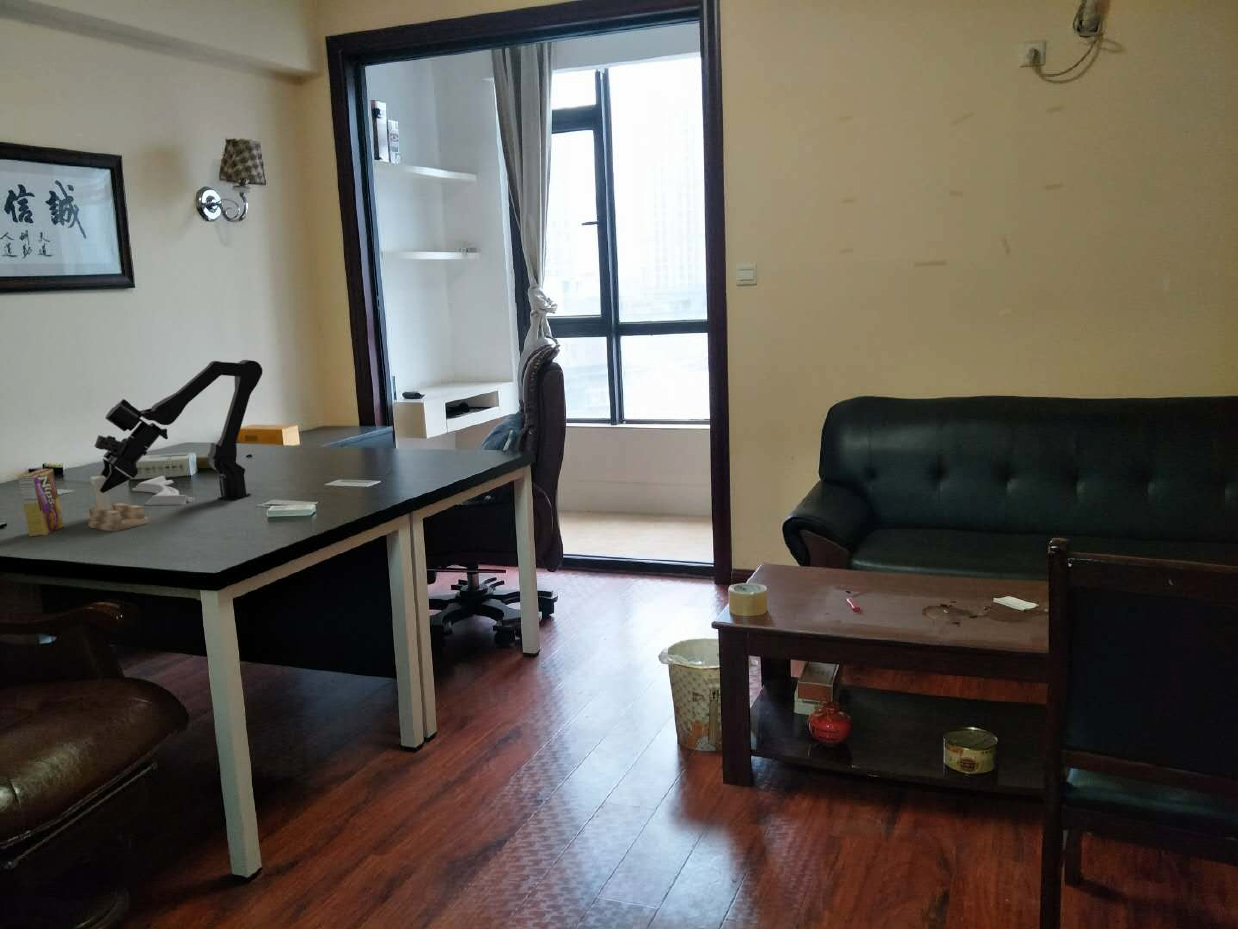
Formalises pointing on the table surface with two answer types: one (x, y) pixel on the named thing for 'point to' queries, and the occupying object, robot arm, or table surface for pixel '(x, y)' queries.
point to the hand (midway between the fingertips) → (98, 489)
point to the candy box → (41, 502)
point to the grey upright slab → (100, 493)
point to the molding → (162, 492)
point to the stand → (117, 517)
